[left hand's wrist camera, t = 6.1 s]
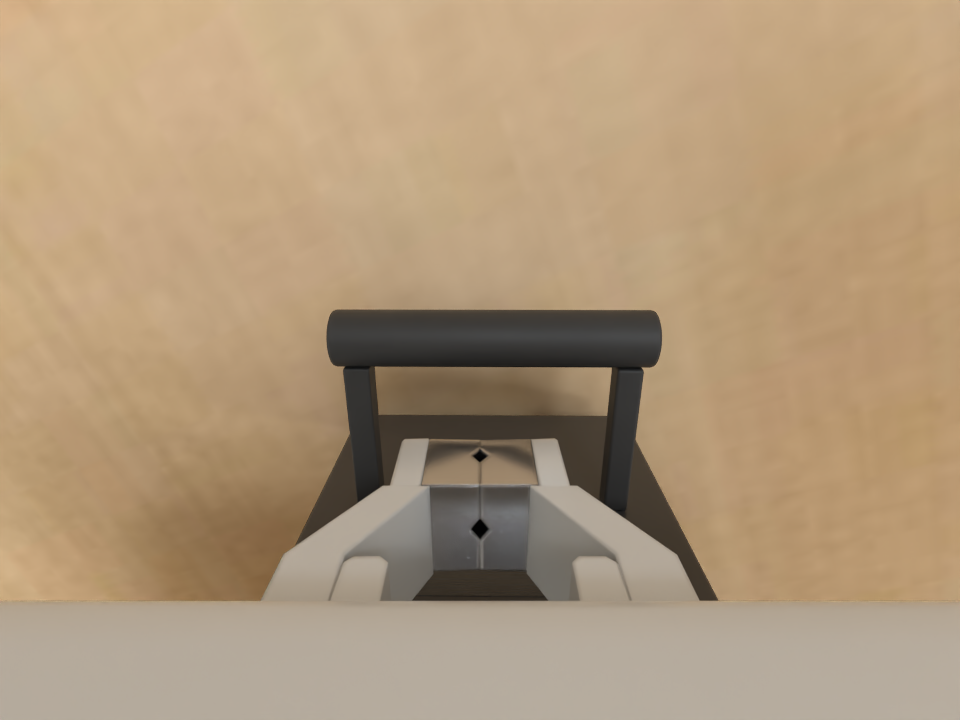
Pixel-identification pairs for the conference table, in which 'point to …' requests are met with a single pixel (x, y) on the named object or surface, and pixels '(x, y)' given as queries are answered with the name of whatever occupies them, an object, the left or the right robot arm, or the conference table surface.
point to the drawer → (503, 417)
